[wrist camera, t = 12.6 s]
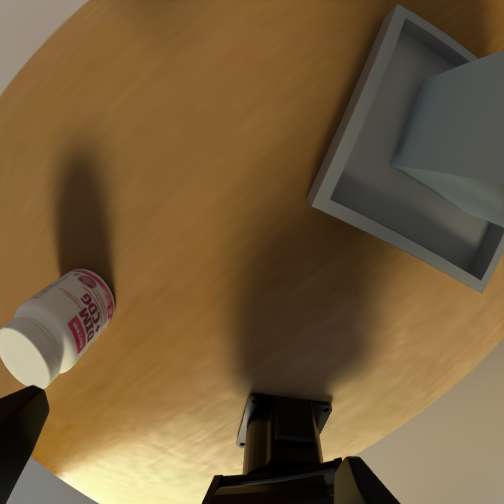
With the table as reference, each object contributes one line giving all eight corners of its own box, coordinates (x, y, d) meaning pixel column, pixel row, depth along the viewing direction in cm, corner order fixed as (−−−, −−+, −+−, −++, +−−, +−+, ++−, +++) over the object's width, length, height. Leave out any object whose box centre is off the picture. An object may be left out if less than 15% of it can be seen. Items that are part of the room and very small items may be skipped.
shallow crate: (463, 280, 19) (481, 293, 17) (305, 199, 18) (311, 206, 16) (524, 124, 16) (546, 124, 13) (384, 18, 15) (397, 3, 12)
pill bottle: (129, 310, 21) (71, 383, 13) (89, 336, 22) (32, 404, 14) (88, 254, 20) (10, 306, 12) (52, 286, 21) (-19, 340, 13)
